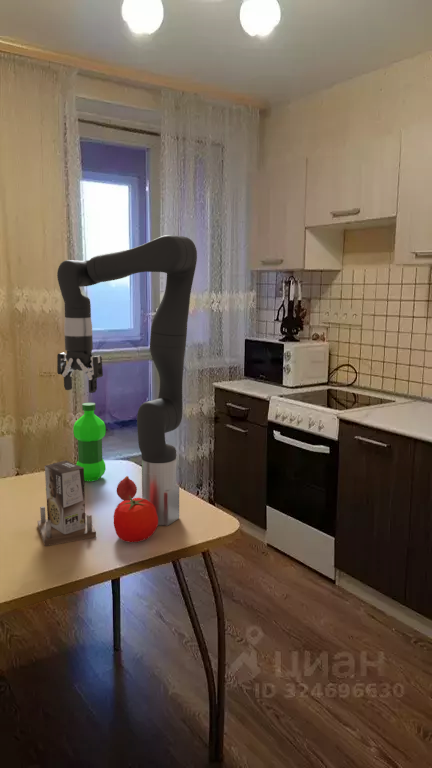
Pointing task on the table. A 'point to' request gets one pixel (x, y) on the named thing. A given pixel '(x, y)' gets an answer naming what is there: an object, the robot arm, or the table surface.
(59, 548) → the table surface
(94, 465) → the plastic bottle
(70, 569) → the table surface
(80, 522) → the coffee box
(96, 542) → the table surface
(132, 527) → the tomato
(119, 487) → the onion
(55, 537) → the pin holder
